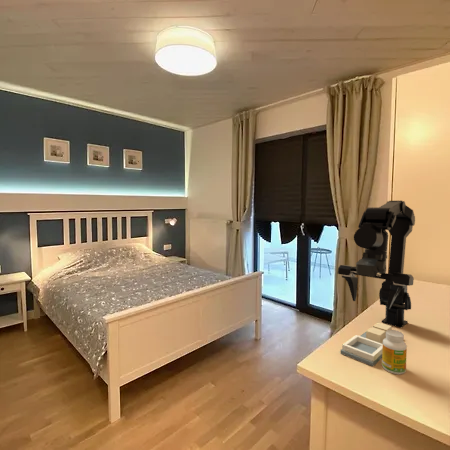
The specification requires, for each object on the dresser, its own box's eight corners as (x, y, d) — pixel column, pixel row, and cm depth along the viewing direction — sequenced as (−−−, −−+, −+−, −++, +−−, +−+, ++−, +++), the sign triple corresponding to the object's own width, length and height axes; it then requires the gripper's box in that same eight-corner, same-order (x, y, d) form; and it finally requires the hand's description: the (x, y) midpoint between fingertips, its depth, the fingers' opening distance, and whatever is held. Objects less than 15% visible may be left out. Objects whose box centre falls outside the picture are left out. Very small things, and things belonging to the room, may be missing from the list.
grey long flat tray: (372, 329, 97) (372, 318, 97) (402, 338, 90) (402, 326, 90) (340, 353, 83) (340, 340, 82) (372, 366, 76) (373, 352, 76)
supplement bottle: (393, 376, 72) (395, 339, 71) (377, 364, 77) (378, 330, 76) (411, 372, 73) (412, 336, 72) (393, 361, 78) (394, 327, 77)
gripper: (332, 245, 83) (327, 299, 83) (406, 252, 70) (401, 316, 70) (347, 247, 91) (342, 296, 90) (416, 254, 78) (411, 312, 77)
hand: (370, 304), depth 82 cm, fingers open, 9 cm apart
